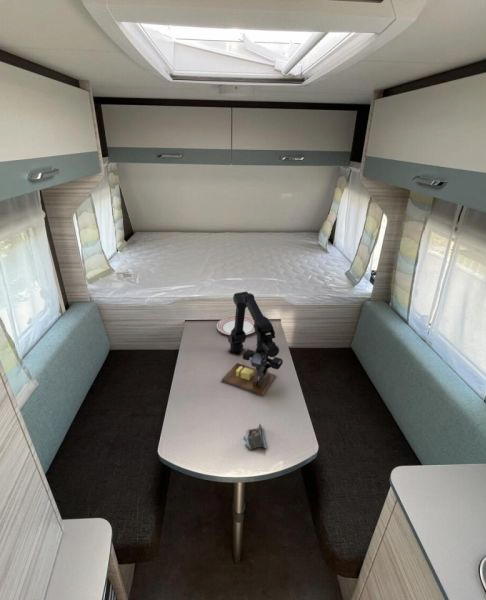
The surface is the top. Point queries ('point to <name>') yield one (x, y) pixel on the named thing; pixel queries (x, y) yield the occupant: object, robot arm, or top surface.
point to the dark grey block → (260, 373)
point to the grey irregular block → (255, 438)
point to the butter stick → (247, 373)
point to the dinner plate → (229, 323)
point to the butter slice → (239, 371)
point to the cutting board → (250, 384)
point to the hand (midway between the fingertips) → (261, 373)
